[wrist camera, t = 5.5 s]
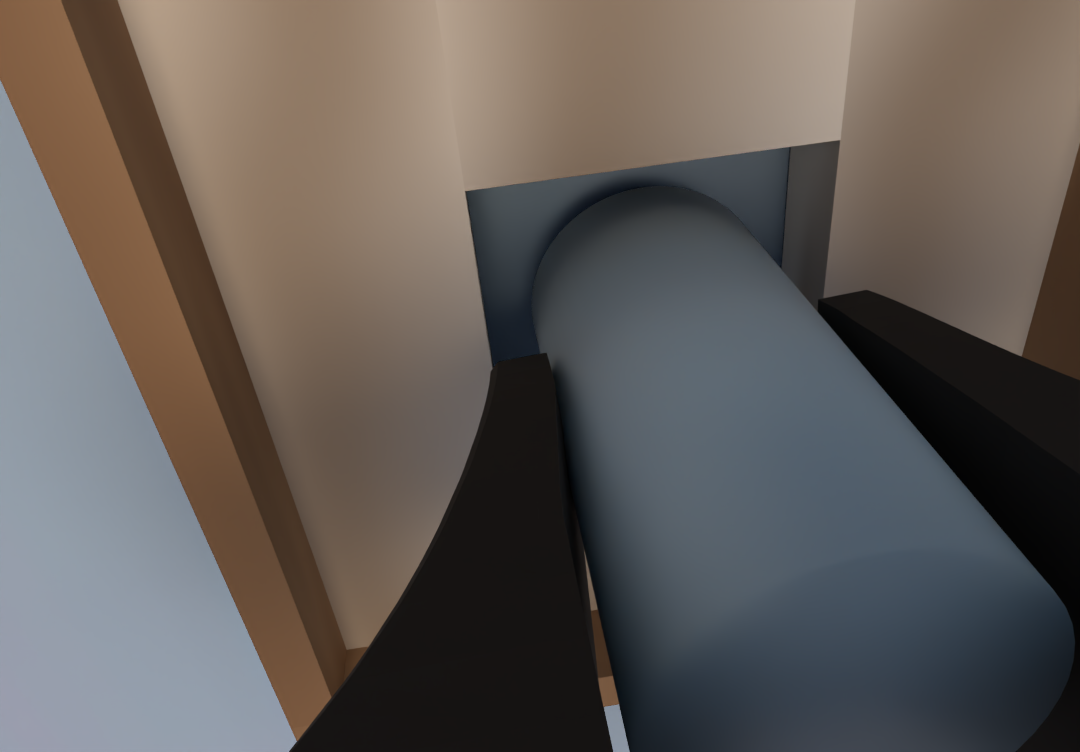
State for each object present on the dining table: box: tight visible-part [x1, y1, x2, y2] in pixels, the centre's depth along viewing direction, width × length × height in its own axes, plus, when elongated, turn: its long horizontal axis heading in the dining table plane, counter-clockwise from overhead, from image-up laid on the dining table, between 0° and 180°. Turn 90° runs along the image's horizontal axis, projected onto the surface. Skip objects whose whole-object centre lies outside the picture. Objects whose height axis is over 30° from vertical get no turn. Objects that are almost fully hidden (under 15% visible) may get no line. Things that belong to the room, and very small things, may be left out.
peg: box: [531, 186, 1075, 752], centre depth 9 cm, size 3×3×7 cm
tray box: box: [0, 0, 1080, 741], centre depth 12 cm, size 13×13×3 cm
